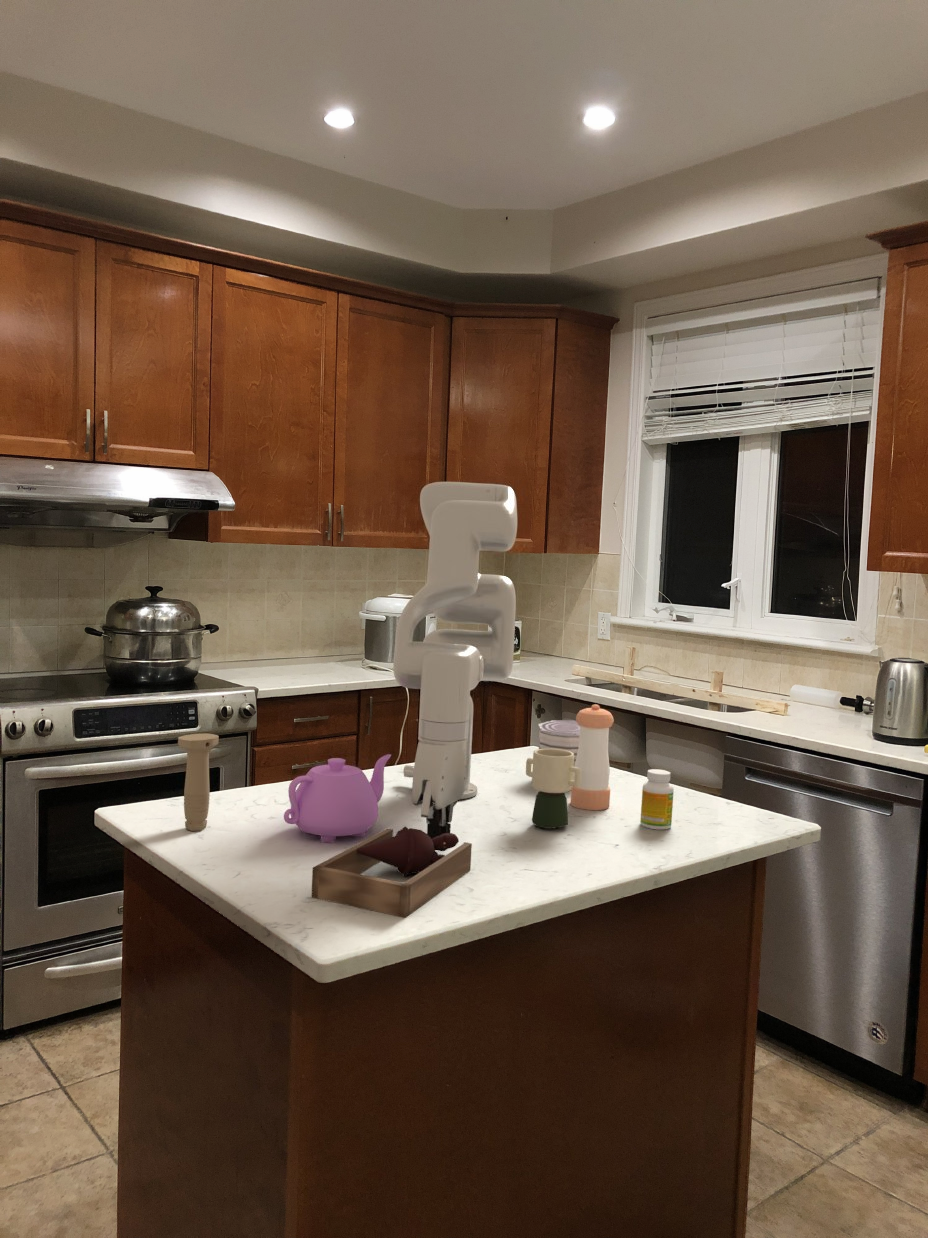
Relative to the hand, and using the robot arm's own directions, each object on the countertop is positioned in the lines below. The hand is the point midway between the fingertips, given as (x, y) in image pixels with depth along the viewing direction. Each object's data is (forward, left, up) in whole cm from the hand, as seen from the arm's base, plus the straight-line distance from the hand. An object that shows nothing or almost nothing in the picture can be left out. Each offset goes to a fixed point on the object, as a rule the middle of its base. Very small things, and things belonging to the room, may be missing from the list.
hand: (437, 848), depth 147 cm
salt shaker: (+12, +42, -1) cm, 44 cm away
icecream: (0, -10, -1) cm, 10 cm away
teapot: (-19, +2, -1) cm, 19 cm away
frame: (0, -14, -1) cm, 14 cm away
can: (+2, +57, -1) cm, 57 cm away
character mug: (+10, +24, -1) cm, 26 cm away
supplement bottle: (+26, +35, -1) cm, 44 cm away
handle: (-39, -9, -1) cm, 40 cm away
